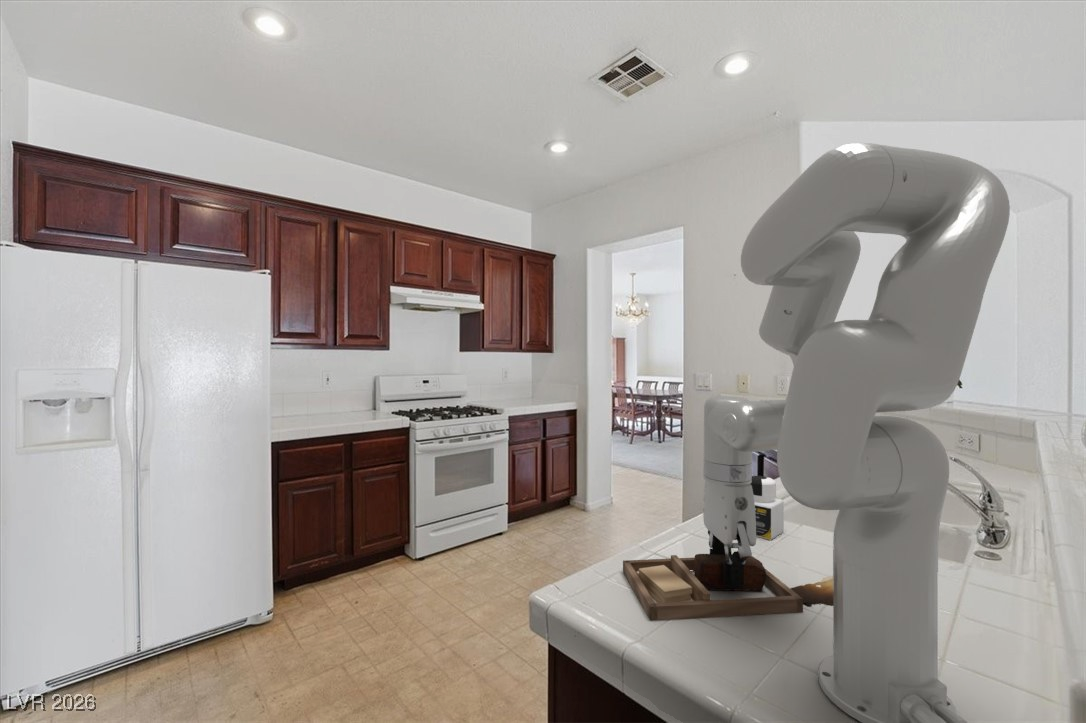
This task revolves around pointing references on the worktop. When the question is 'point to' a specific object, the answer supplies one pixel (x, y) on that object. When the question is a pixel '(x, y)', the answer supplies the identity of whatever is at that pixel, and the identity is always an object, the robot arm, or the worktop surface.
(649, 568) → the offcut stack
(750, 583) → the brick
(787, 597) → the rack
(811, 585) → the parchment
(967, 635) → the worktop surface
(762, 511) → the medicine bottle
